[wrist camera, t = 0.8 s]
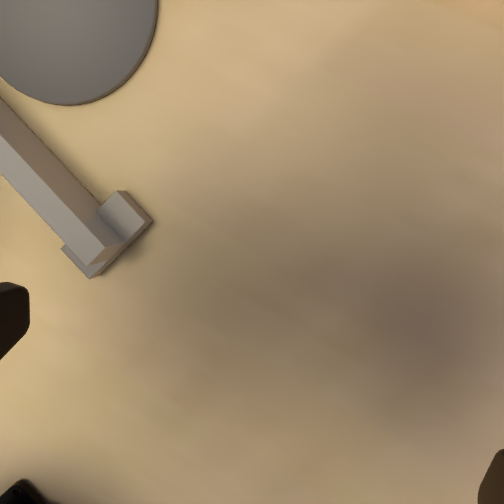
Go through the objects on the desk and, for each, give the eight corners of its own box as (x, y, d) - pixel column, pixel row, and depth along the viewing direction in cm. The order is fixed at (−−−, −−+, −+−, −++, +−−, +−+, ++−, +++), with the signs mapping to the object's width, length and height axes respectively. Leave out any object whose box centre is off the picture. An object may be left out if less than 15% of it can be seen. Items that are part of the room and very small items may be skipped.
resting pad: (68, 145, 21) (63, 144, 21) (-57, 10, 21) (-66, 5, 21) (197, 1, 20) (194, -4, 19) (61, -145, 20) (54, -154, 19)
